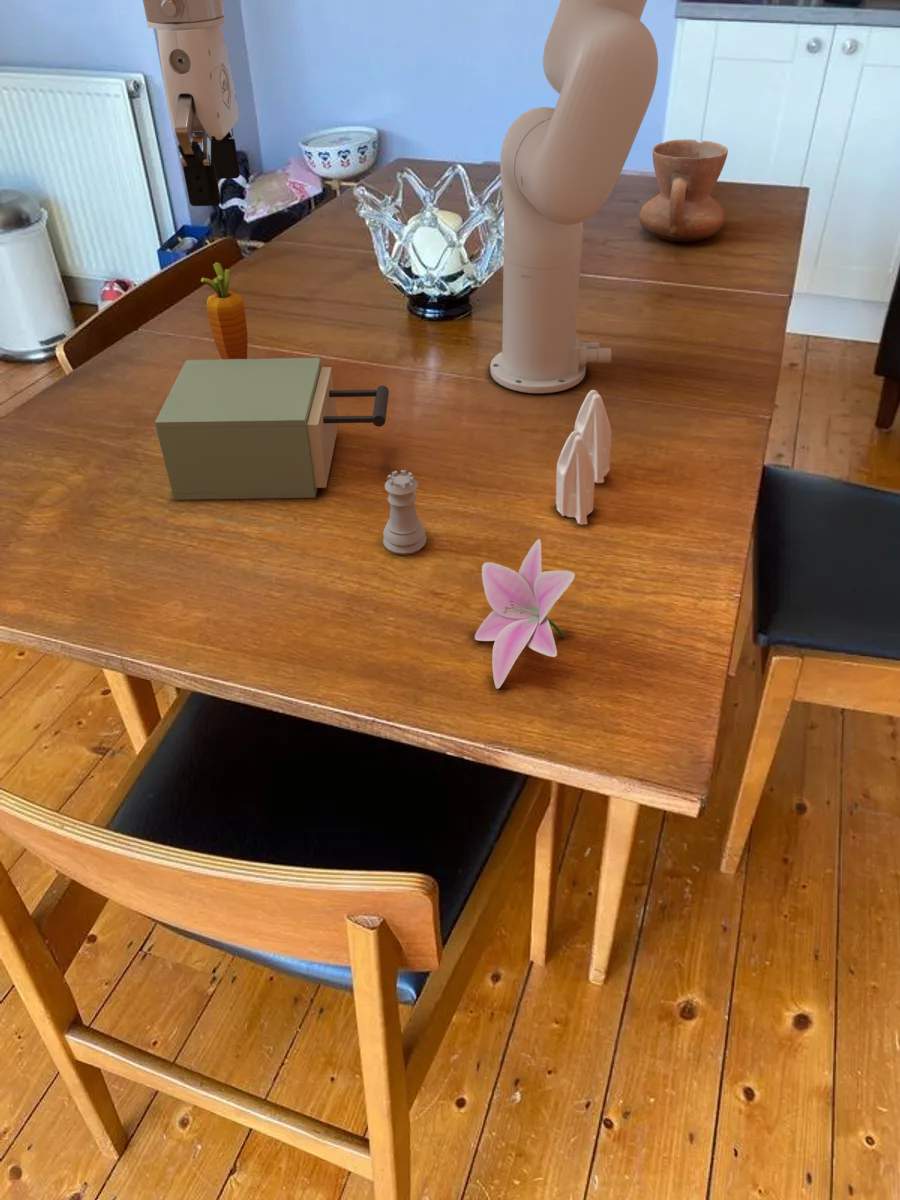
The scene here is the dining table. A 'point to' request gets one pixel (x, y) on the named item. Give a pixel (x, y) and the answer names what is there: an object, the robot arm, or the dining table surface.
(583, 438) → the shaker set
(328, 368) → the drawer
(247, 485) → the cabinet
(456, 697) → the dining table surface
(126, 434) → the dining table surface
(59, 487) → the dining table surface
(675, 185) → the ceramic jug
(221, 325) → the carrot
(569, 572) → the lily
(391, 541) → the rook chess piece
